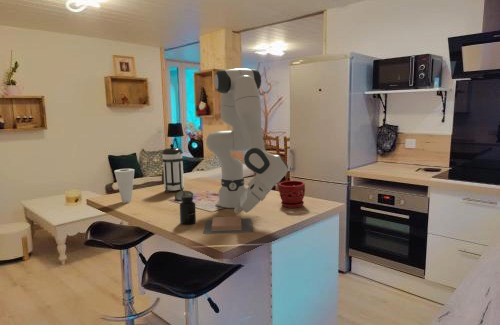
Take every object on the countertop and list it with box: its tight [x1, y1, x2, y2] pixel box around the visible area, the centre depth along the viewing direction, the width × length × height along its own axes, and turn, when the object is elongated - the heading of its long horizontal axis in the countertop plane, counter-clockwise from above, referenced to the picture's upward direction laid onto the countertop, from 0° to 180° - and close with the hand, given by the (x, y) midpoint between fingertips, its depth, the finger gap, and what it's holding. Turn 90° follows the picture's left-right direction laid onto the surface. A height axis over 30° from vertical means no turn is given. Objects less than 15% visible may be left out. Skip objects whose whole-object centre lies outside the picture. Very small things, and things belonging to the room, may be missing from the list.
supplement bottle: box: [179, 195, 197, 226], centre depth 150 cm, size 7×7×12 cm
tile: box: [212, 215, 242, 231], centre depth 143 cm, size 12×2×12 cm
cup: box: [113, 168, 136, 204], centre depth 190 cm, size 11×11×18 cm
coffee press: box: [161, 143, 185, 194], centre depth 213 cm, size 17×16×30 cm
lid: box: [174, 189, 194, 202], centre depth 194 cm, size 11×10×5 cm
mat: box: [202, 217, 254, 235], centre depth 144 cm, size 18×20×1 cm
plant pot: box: [278, 180, 306, 209], centre depth 174 cm, size 13×13×12 cm
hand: (235, 212), depth 143 cm, fingers closed
